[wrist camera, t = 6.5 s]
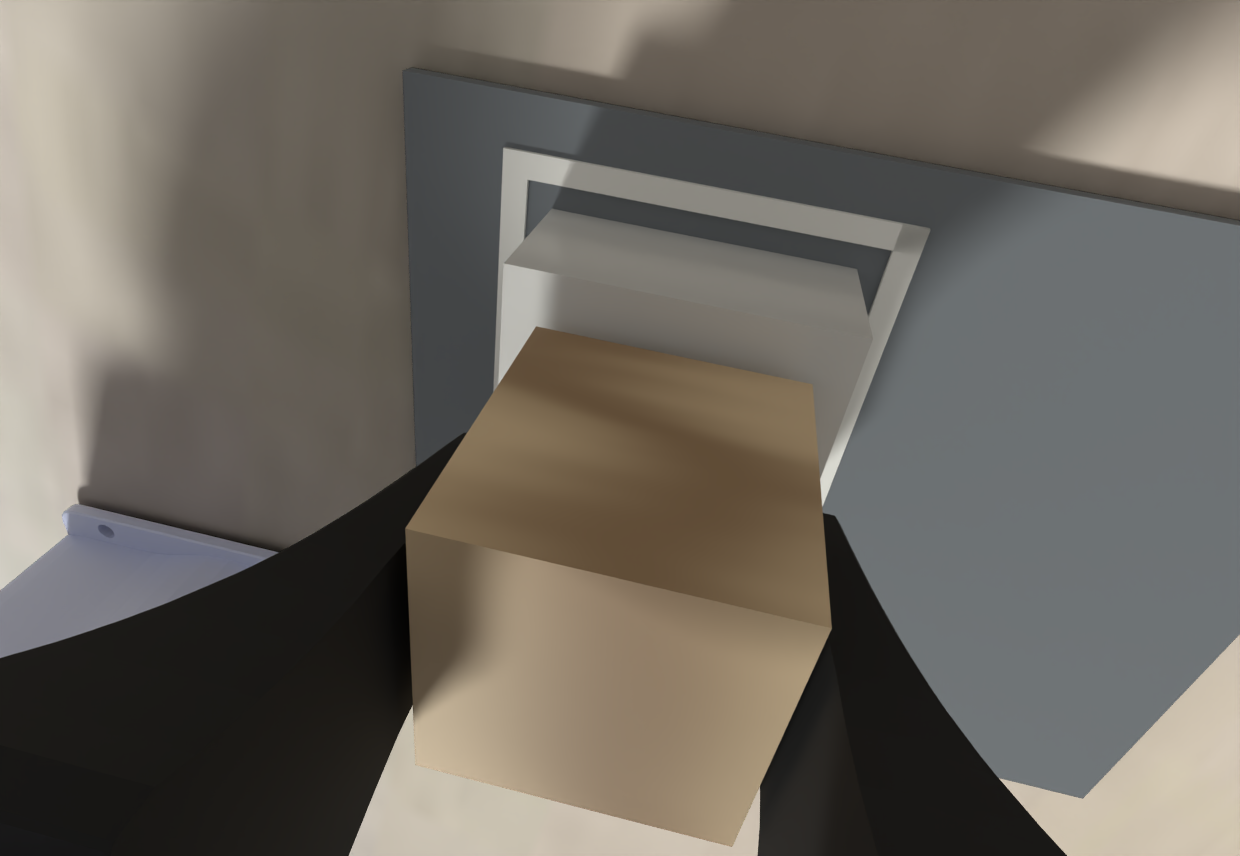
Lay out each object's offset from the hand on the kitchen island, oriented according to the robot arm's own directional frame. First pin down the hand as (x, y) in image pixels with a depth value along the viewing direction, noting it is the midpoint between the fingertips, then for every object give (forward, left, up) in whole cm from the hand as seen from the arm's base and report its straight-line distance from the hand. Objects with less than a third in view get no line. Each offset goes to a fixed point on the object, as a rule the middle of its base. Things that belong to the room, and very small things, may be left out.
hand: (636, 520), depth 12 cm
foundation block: (0, 0, -5) cm, 5 cm away
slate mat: (+4, -3, -5) cm, 7 cm away
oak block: (0, 0, -2) cm, 2 cm away
